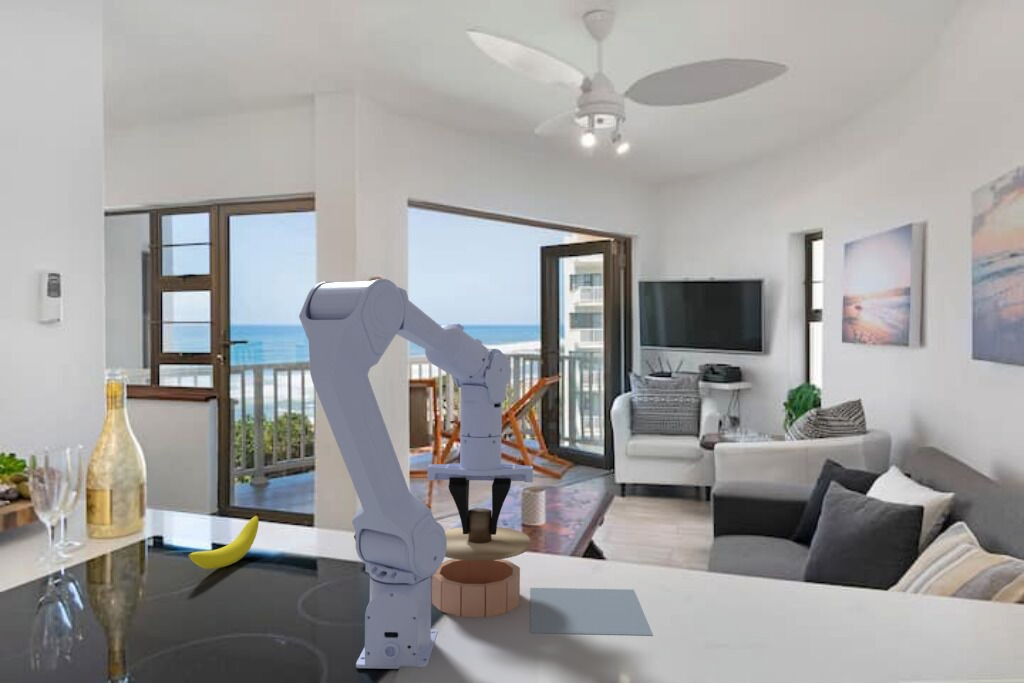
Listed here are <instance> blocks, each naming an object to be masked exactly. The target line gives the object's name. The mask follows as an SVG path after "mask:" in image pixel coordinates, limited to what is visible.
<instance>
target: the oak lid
mask: <svg viewBox="0 0 1024 683" xmlns="http://www.w3.org/2000/svg"><path fill="white" fill-rule="evenodd" d="M491 519H492V509H489V508H485V507H484V508H472V509H469V529H468V534H463V529H462V526H461V527H460V526H459V527H454V528H449V529H446V530H445V529H444V531H445V534H446V540H447V548H446V554H445V557H444V558H449V559H458V560H468V561H489V560H499V559H503V560H506V559H509V558H513V557H514V558H515V557H516V556H520V555H521V554H524V553H525V552H527V551H528V550H529V549H531V548H530V547H531V539H530V537H529V536H528V535H527V534H526V533H524V532H522V531H519V530H516V529H512V528H509V527H501V526H497V531H496V535H491Z"/></svg>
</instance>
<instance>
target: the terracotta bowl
mask: <svg viewBox="0 0 1024 683" xmlns="http://www.w3.org/2000/svg"><path fill="white" fill-rule="evenodd" d="M520 580H521V567H520V566H518V565H516V564H515V563H513V562H512V561H510V560H507V559H499V560H489V561H468V560H458V559H452V558H450V559H447V560H445V561H443V562H442V564H441V565H440V567H439V568H438V570H437V571H436V574H434V575H432V576H431V605H434V607H436V609H437V610H439V611H440V612H442V613H444V614H449V615H453V616H457V617H461V618H485V617H486V618H489V617H494V616H498V615H502V614H507V613H509V612H510V611H512V610H514V609H515V608H516V607H518V606H520V592H521V588H520V587H521V583H520Z"/></svg>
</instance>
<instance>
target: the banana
mask: <svg viewBox="0 0 1024 683" xmlns="http://www.w3.org/2000/svg"><path fill="white" fill-rule="evenodd" d="M260 515H261V512H259V511H258V512H255V514H254V516H253V517H252V518H251V519H249V520H248V522H247V523H246V524H245V526H244V527H243V528H242V530H241V531H240V533H239V534H238V535H237V537H236V538H234V540H233V541H232V542H230V543H228V544H227V545H225V546H222V547H220V548H217V549H213V550H205V551H204V550H203V551H194V552H191V553H189V554H188V557H189V559H190V560H191V561H192V562H193V563H194V564H195V565H197V566H198V567H200V568H202V569H206V570H212V569H221V568H225V567H227V566H230V565H233V564H234V563H235V564H236V563H237V562H238V561H240V560H241V559H243V558H244V557H245V555H246V554H248V552H249V550H250V549H251V547H252V546H253V545H254V541H255V539H256V536H257V533H258V530H259V516H260Z"/></svg>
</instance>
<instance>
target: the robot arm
mask: <svg viewBox="0 0 1024 683" xmlns="http://www.w3.org/2000/svg"><path fill="white" fill-rule="evenodd" d="M407 292H408V291H407V290H406V289H405V288H402V287H399V286H397V285H396V284H395V283H394V282H393V281H391V280H390V279H387V278H376V279H373V280H361V281H359V280H358V281H341V282H340V281H339V282H334V281H322V282H319V283H316V284H315V285H314V286H312V288H311V289H310V290H309V292H308V294H307V296H306V298H305V300H304V303H303V306H302V308H301V310H300V313H299V315H298V318H299V320H300V323H301V325H302V328H303V331H304V333H305V335H306V339H307V341H308V354H309V355H308V356H309V374H310V378H311V381H312V383H313V386H314V389H315V392H316V393H317V397H318V399H319V401H320V405H321V406H322V409H323V412H324V414H325V416H326V419H327V421H328V424H329V427H330V429H331V433H332V435H333V437H334V439H335V442H336V444H337V447H338V449H339V452H340V454H341V456H342V459H343V462H344V464H345V467H346V469H347V472H348V474H349V476H350V479H351V482H352V484H353V487H354V489H355V492H356V495H357V498H358V499H359V502H360V505H361V506H360V507H359V508H358V510H357V511H356V513H355V514H354V516H353V518H352V519H351V524H352V526H353V529H354V535H355V534H356V541H355V550H356V554H357V556H358V558H359V559H360V561H362V562H364V563H365V566H364V567H365V571H364V572H365V573H368V574H369V602H368V605H367V606H366V610H365V613H364V647H363V649H362V651H361V653H360V655H359V657H358V658H357V660H356V663H355V667H356V668H357V669H382V670H383V669H384V670H386V669H388V670H389V669H390V670H399V669H400V667H409V668H410V667H415V668H416V667H417V668H418V667H419V668H420V667H421V668H423V667H427V666H428V665H429V662H430V658H431V655H432V651H433V648H434V645H435V643H436V642H435V641H436V637H437V635H438V629H435V628H432V575H434V574H436V571H437V570H438V568H439V567H440V565H441V564H442V563H443V562H444V559H445V558H446V557H445V554H446V548H447V540H446V534H445V529H444V527H443V526H442V524H440V522H438V521H437V520H436V519H435V517H434V515H433V512H432V510H431V509H430V507H429V506H427V505H426V503H424V502H422V501H421V500H420V499H419V498H417V497H416V496H415V495H413V494H412V493H411V492H410V490H409V487H408V484H407V481H406V479H405V476H404V473H403V470H402V467H401V465H400V462H399V459H398V457H397V453H396V451H395V448H394V446H393V442H392V440H391V436H390V434H389V432H388V429H387V425H386V423H385V421H384V417H383V415H382V412H381V409H380V406H379V404H378V401H377V399H376V398H377V397H376V396H375V393H374V390H373V386H372V385H371V382H370V378H369V372H370V370H371V368H372V367H374V366H376V365H377V364H378V363H379V362H380V360H381V359H382V358H383V355H384V354H385V352H386V350H387V349H388V348H389V346H390V345H391V343H392V341H393V340H394V338H395V337H396V336H399V337H401V338H403V339H404V340H406V341H409V342H411V343H412V344H414V345H416V346H418V347H421V348H422V349H424V353H425V357H426V359H427V360H428V363H431V364H432V365H433V366H435V367H436V368H439V369H440V370H441V371H443V372H446V374H448V375H451V378H452V381H453V384H454V385H455V386H456V387H457V388H460V423H459V424H460V430H459V431H460V434H459V439H460V441H459V462H458V463H438V464H437V463H435V464H434V463H431V464H430V463H429V465H428V466H427V481H428V482H429V481H430V482H431V481H437V480H439V481H442V480H443V481H448V490H449V493H450V494H451V496H452V500H453V501H454V504H455V506H456V508H457V512H458V515H459V519H460V522H461V527H462V529H463V534H468V529H469V510H470V508H469V506H470V505H469V498H470V481H492V485H491V511H492V519H491V535H496V531H497V527H498V522H499V518H500V515H501V511H502V508H503V506H504V503H505V500H506V498H507V496H508V493H509V492H510V489H511V486H512V485H511V484H512V481H513V482H525V483H534V482H533V481H534V480H533V479H534V475H533V474H534V465H521V464H510V463H509V464H508V463H502V427H503V426H502V423H503V422H502V419H503V418H502V414H503V412H502V410H503V408H502V406H503V405H502V404H503V403H504V402H505V400H506V399H505V398H507V388H508V385H509V382H510V378H511V374H512V369H511V368H510V362H509V359H508V357H507V355H506V354H504V352H502V351H501V350H500V349H498V348H487V346H485V345H484V344H483V342H482V340H480V339H478V338H474V337H472V336H471V335H470V334H468V333H466V332H465V331H464V329H465V328H464V326H463V325H462V324H460V323H446V324H445V323H444V324H442V325H440V324H439V323H437V322H436V321H435V320H434V319H433V318H432V317H430V316H429V315H427V314H426V313H425V312H424V311H423V310H422V309H421V308H419V307H418V306H416V305H415V303H413V302H412V301H410V300H409V297H408V296H409V295H408V293H407Z"/></svg>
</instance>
